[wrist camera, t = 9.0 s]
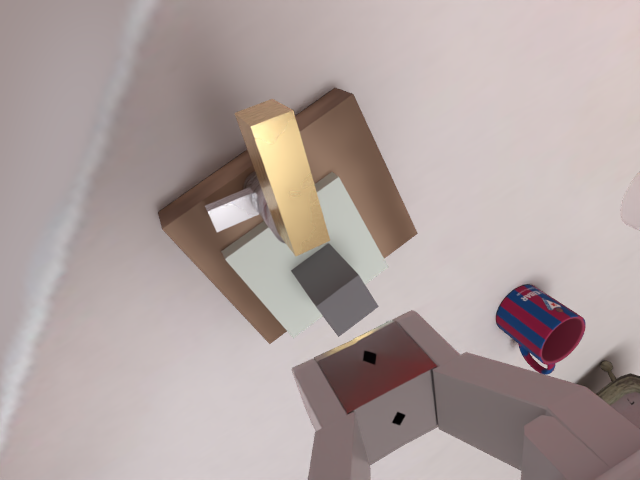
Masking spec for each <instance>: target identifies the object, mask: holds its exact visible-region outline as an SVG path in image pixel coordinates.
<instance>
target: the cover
mask: <svg viewBox="0 0 640 480" xmlns="http://www.w3.org/2000/svg"><path fill="white" fill-rule="evenodd" d="M314 185H315V188H316V192H317V195H318V199H319V202H320V206H321V209H322V213H323V216H324V220H325V223H326V227H327V230H328V234H329V237H330V241H329V242H326V243H324V244H322V245H320V246H318V247H316V248H313V249H311V250H309V251H307V252H305V253H303V254H300V255H298V256H295V255H294V254H293V252H292V251H291V250H290V248H289V247H288V246H287V244H285V243H282V242H280V241H279V240H278V239H277V238H276V237H275V235H274V234H273V232H272V231H271V230H270V228H269V227H268V226H267V224H266V223H265V222H264V221H263V222H261V223H260V224H259V225H257V226H256V227H255V228H253V229H252V230H250V231H249V232H248V233H246V234H245V235H243V236H242V237H241V238H239V239H238V240H236V241H235V242H234V243H232V244H231V245H230V246H228V247H227V248H225V249H224V250H223V251H221V252H222V254H223V256H224V258H225V260H226V261H227V262H228V263H229V265H230V266H231V267H232V268H233V269H234V270H235V271H236V273H237V274H238V275H239V276H240V277H241V278H242V280H243V281H244V282H245V283H246V284H247V285H248V286H249V288H250V289H251V290H252V291H253V292H254V293H255V295H256V296H257V297H258V298H259V299H260V300H261V301H262V303H263V304H264V305H265V306H266V307H267V308H268V310H269V311H270V312H271V313H272V314H273V315H274V316H275V318H276V319H277V320H278V321H279V322H280V323H281V325H282V326H283V327H284V328H285V329H286V330H287V331H288V333H289V334H290V335H291V336H292V337H293V338H295V337H296V336H297V335H299V334H300V333H301V332H303V331H304V330H305V329H307V328H308V327H309V326H311V325H312V324H313V323H315V322H316V321H317V320H319V319H320V318H321V317H324V318H325V319H326V321H327V322H328V323H329V325H330V326H331V327H332V329H333V330H334V331H335V333H336V334H337V335H338V337H339V336H340V335H342V334H343V333H344V332H346V331H347V330H348V329H350V328H351V327H352V326H354V325H355V324H356V323H358V322H359V321H360V320H362V319H363V318H364V317H366V316H367V315H368V314H369V313H371V312H372V311H373V310H375V309H376V308H377V307H378V305H377V303H376V302H375V300H374V299H373V297H372V295H371V294H370V292H369V290H368V289H367V287H366V286H365V284H367V283H368V282H369V281H371V280H372V279H373V278H375V277H376V276H377V275H379V274H380V273H381V272H383V271H384V270H385V269H387V268H388V265H387V263H386V261H385V260H384V258H383V256H382V254H381V252H380V250H379V249H378V247H377V245H376V243H375V241H374V240H373V238H372V236H371V234H370V232H369V231H368V229H367V227H366V225H365V223H364V221H363V220H362V218H361V216H360V214H359V212H358V211H357V209H356V207H355V205H354V203H353V201H352V200H351V198H350V196H349V194H348V192H347V191H346V189H345V187H344V185H343V183H342V182H341V180H340V178H339V176H337V175H336V174H334V173H333V172H331V173H330V174H328V175H327V176H325V177H324V178H323V179H321V180H320V181H318V182H317V183H316V184H314Z"/></svg>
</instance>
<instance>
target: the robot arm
mask: <svg viewBox="0 0 640 480" xmlns="http://www.w3.org/2000/svg"><path fill="white" fill-rule="evenodd" d="M292 373H293V375H294V378H295V381H296V384H297V387H298V389H299V392H300V395H301V398H302V401H303V403H304V406H305V408H306V411H307V413H308V415H309V418H310V420H311V423H312V425H313V427H314V429H315V431H316V432H315V437H314V443H313V450H312V456H311V463H310V469H309V476H308V480H370V469H371V468H370V465H372V464H373V463H375V462H376V461H378V460H380V459H381V458H383V457H385V456H386V455H388V454H390V453H391V452H393V451H395V450H396V449H398V448H400V447H401V446H403V445H405V444H407V443H409V442H410V441H412V440H414V439H416V438H418V437H420V436H422V435H424V434H426V433H427V432H429V431H431V430H433V429H435V428H437V427H439V429H440V430H442V431H444V432H446V433H448V434H450V435H452V436H454V437H456V438H458V439H460V440H462V441H464V442H466V443H468V444H470V445H472V446H474V447H476V448H477V449H479V450H481V451H483V452H485V453H487V454H489V455H491V456H493V457H495V458H497V459H499V460H501V461H503V462H505V463H507V464H509V465H511V466H513V467H515V468H517V469H519V470H521V480H640V429H639V428H638V427H636V426H635V425H634V424H632V423H631V422H630V421H629V420H627V419H626V418H625V417H624V416H622V415H621V414H620V413H619V412H617V411H616V410H615V409H614V408H612V407H611V406H610V405H609V404H607V403H606V402H605V401H604V400H602V399H601V398H600V397H598V396H597V395H596V394H595V393H593V392H592V391H591V390H590V389H588V388H587V387H585V386H582V385H578V384H575V383H572V382H568V381H565V380H561V379H558V378H554V377H551V376H547V375H544V374H540V373H537V372H533V371H530V370H527V369H523V368H520V367H516V366H513V365H509V364H506V363H502V362H499V361H495V360H492V359H489V358H485V357H482V356H478V355H475V354H471V353H468V352H465V353H463V354H461V355H460V354H459V353H458V352H457V351H456V350H455V349H454V348H453V347H452V346H451V345H450V344H449V343H448V342H447V341H446V340H445V339H444V338H443V337H442V336H441V335H439V334H438V333H437V332H436V331H435V330H434V329H433V328H432V327H431V326H430V325H429V324H428V323H427V322H426V321H425V320H424V319H423V318H422V317H421V316H420V315H419V314H418V313H417V312H415V311H413V310H411V311H409V312H407V313H405V314H403V315H401V316H399V317H397V318H395V319H393V320H392V321H391V320H390V321H388V322H386V323H384V324H382V325H380V326H378V327H376V328H374V329H372V330H370V331H368V332H366V333H364V334H362V335H360V336H358V337H356V338H354V339H353V340H351V341H349V342H347V343H345V344H343V345H340V346H338V347H336V348H334V349H332V350H329V351H327V352H325V353H323V354H321V355H318V356H316V357H314V359H311V360H308V361H306V362H304V363H302V364H300V365H298V366H295V367H293V368H292Z"/></svg>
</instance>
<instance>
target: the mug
mask: <svg viewBox="0 0 640 480" xmlns="http://www.w3.org/2000/svg"><path fill="white" fill-rule="evenodd" d="M496 322H497V325H498V327H499V328H500V329H501V330H503V331H504V332H505V333H506V334H508V335H509V336H510V337H511V338H512V339H514V340H515V341H516V342H517V343H518V344H519V348H520V351H521V353H522V355H523V357H524V359H525V360H526V361H527V363H528V364H529V365H530V366H531V367H532V368H533V369H535V370H536V371H537V372H539V373H541V374H544V375H545V374H550V373H551V372H552V371H554V368H555V363H557V362H559V361H561V360H563V359H564V358H565V357H567V356H568V355H569V354H570V353H571V352H572V351H573V350H574V349H575V348H576V346H577V345H578V344H579V342H580V340H581V339H582V337H583V334H584V331H585V320H584V319H583V318H582V317H581V316H580V315H578V314H577V313H575V312H573V311H572V310H570V309H569V308H567V307H566V306H564V305H563V304H561V303H560V302H558V301H557V300H555V299H553V298H552V297H550V296H549V295H547V294H546V293H544V292H543V291H541V290H540V289H538V288H536V287H535V286H533V285H523V286H520V287H518V288H516V289H515V290H513V291H512V292H511V293H509V294H508V295H507V296H506V298H505V299H504V300H503V301H502V303H501V305H500V307H499V309H498V311H497V315H496ZM529 352H530V353H531V354H532V355H533V356H535V357H536V358H537V359H538V360H540V361H541V362H542V363H544V364H547V365H548V368H547V369H546V368H544V367H542V366H541V365H539V364H538V363H537V362H536V361H535V360H534V359H533V358H532V356H531V355H530V353H529Z"/></svg>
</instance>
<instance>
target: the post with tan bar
mask: <svg viewBox="0 0 640 480" xmlns="http://www.w3.org/2000/svg"><path fill="white" fill-rule="evenodd" d="M234 114H235V116H236V119H237V122H238V125H239V127H240V130H241V133H242V136H243V138H244V141H245V144H246V147H247V150H248V152H249V155H250V158H251V161H252V163H253V166H254V169H255V172H253V173H251V174H250V175H249V176H248V177H247V178H246V180H245V182H244V190H242V191H239V192H237V193H234V194H232V195H229V196H227V197H225V198H222V199H220V200H217V201H215V202H213V203H210V204H208V205H205V207H206V210H207V212H208V214H209V216H210V218H211V221H212V223H213V225H214V227H215V229H216V231H217V232H219V231H222V230H224V229H226V228H229V227H231V226H233V225H236V224H238V223H240V222H242V221H245V220H247V219H249V218H252V217H254V216H256V215H260V216H261V217H262V219H263V220H264V222H265V223H266V224H267V226H268V227H269V228H270V230H271V231H272V232H273V234H274V235H275V237H276V238H277V239H278V240H279V241H280V242H282V243H285V244H287V246H288V247H289V248H290V250H291V251H292V252H293V254H294V255H295V256H298V255H300V254H303V253H305V252H307V251H309V250H311V249H313V248H316V247H318V246H320V245H322V244H324V243H326V242H329V241H330V237H329V234H328V230H327V227H326V223H325V220H324V216H323V213H322V209H321V206H320V202H319V199H318V195H317V192H316V188H315V185H314V181H313V178H312V174H311V171H310V167H309V164H308V160H307V157H306V153H305V150H304V146H303V143H302V139H301V136H300V132H299V129H298V125H297V122H296V118H295V115H294V111H293V110H292V109H290V108H288V107H286V106H284V105H283V104H281V103H279V102H277V101H275V100H273V99H271V100H268V101H265V102H263V103H260V104H257V105H255V106H252V107H249V108H247V109H244V110H241V111H239V112H236V113H234Z"/></svg>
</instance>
